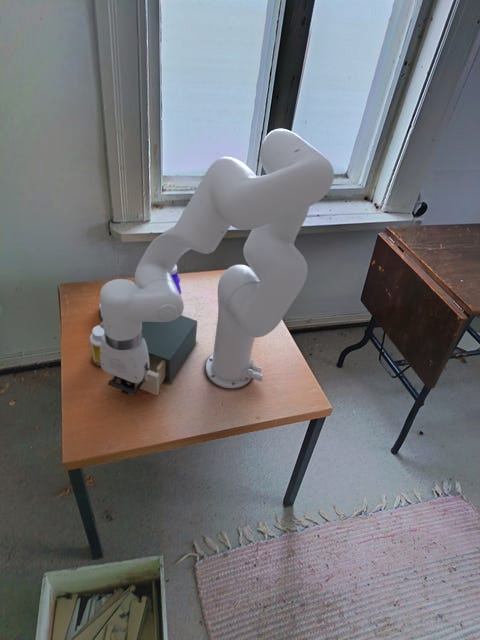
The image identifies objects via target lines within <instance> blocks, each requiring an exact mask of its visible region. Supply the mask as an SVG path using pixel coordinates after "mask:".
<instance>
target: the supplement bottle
mask: <svg viewBox="0 0 480 640" xmlns="http://www.w3.org/2000/svg"><path fill="white" fill-rule="evenodd" d="M103 334H104V329H103V328H101V327H100V324H99V325H96V326H94V327H93V328H92V329H91V334H90V336H89V344H90V350H91V356H92V359H93V362H94V364H96V365H97V366H99V367H101V363H100V345H101V339H102V336H103Z"/></svg>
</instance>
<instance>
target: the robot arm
mask: <svg viewBox="0 0 480 640" xmlns="http://www.w3.org/2000/svg"><path fill="white" fill-rule="evenodd" d="M259 154H260V156H259V157H260V163H261V166H262V168H263V170H264V172H265V175H264V174H263V175H259V176H258V175H256V174H255V172H254V171H252V170H251V169H250V168H249V167H248V166H247V165H246V164H245V163H244V162H243V161H241V160H239V159H237V158H234V157H231V156H223V157H220V158H218V159H216V160H214V161H213V163H211V164H210V165H209V167H208V168H207V170H206V172H205V174H204V175H203V177H202V179H201V181H200V182H199V184H198V186H197V187H196V189H195V191H194V193H193V195H192V196H191V198H190V199H189V202H187V205H186V207H185V208H184V210H183V212H182V213H181V215H180V217H179V219H178V221H177V222H176V224H175V225H174V226H172V227H170V228H169V229H167V230H165V231H163V232H162V233H161V234H160V235H158V236H157V237H156V238H154V239H153V240H152V241H151V242H150V244H149V245H148V246H147V248H146V250H145V251H144V252H143V255H142V257H141V259H140V261H139V262H138V264H137V267H136V270H135V273H134V281H132V280H130V279H125V278H116V279H112V280H109V281H108V282H106V283H104V284H103V285H102V286H101V289H100V292H99V301H100V302H101V309H102V317H103V319H102V321H101V322H100V323H99V325H100V327H101V328H103V329H104V334H103V336H102V339H101V345H100V363H101V366H100V368H101V369H102V370H103V371H104V372H106V373H108V374H109V375H110V374H112V375H115V376H116V377H117V379H118V380H117V379H116V380H117V381H119V384H122V385H124V386H127V387H129V388H132V389H135V388H136V387H135V383H140V382H146V381H147V380H148V379H149V377H148V374H147V371H149V366H150V363H149V354H148V349H147V345H146V342H145V339H144V338H142V322H169V321H173V320H175V319H177V318H178V317H179V316H180V315H182V314H183V312H184V309H185V308H184V307H185V305H184V300H183V298H182V295H180V293H179V291H178V289H177V287H176V285H175V283H174V281H173V278H172V276H171V272H172V270H173V268H174V266H175V265H177V263H178V262H179V260H180V258H182V256H183V255H185V253H187V252H189V251H191V250H192V251H194V252H197V253H200V254H205V255H206V254H207V255H208V254H212V253H213V252H215V251H216V250H217V248H218V246H219V245H220V243H221V242H222V241H223V238H224V237H225V235H226V233H227V232H228V230H229V229H230V228H231V227H232V228H234V229H236V230H239V231H250V233H249V235H248V237H247V239H246V241H245V242H244V246H243V249H242V250H243V251H242V252H243V257H244V259H245V262H246V263H247V264H248V265H245V264H234V265H232V266H230V267H228V268H227V269H226V270H225V271H223V273H222V275H221V276H220V277H219V281H218V284H217V320H216V321H217V322H216V330H215V337H214V338H215V339H214V345H213V353H212V354H210V356H209V357H208V358H207V359H206V362H205V372H206V375H207V377H208V379H209V380H210V381H211V382H212V383H214V384H215V385H217V386H219V387H221V388H225V389H238V388H241V387H244V386H245V385H247V384H248V383H249V382H250V381H251V379H253V380H256V381H258V382H260V383H262V382H263V380H264V377H265V374H262V373H261V372H262V371H263V367H262V366H259V365H256V364H255V363H253V361H254V357H252V352H253V348H254V342H255V338H262V337H265V336H267V335H269V334H270V333H272V331H274V330H275V329H276V328H277V326H279V324H280V323H281V322H282V320H283V319H284V317H285V315H286V314H287V313H288V311H289V309H290V308H291V306H292V305H293V303H294V301H295V300H296V299H297V297H298V296H299V294H300V292H301V290H303V288H304V285H305V283H306V281H307V277H308V272H309V271H308V268H309V267H308V262H307V260H306V259H305V257H304V255H303V254H302V253H301V251H299V250H298V248H297V247H296V246H295V241H296V239H297V236H298V235H299V232H300V231H301V228H302V227H303V225H304V223H305V221H306V219H307V216H308V213H309V210H310V207H311V206H313V205H315V204H317V203H319V202H320V201H321V200H322V199H323V198H324V197H325V196H326V195H327V194H328V193H329V191H330V190H331V189H332V186H333V184H334V179H335V173H334V168H333V165H332V163H331V162H330V160H329V159H328V157H326V156H325V155H324V154H323V153H321V152H320V150H317V149H316V148H315V147H314V146H312V145H311V144H310V143H308V142H307V141H306V140H305V139H304V138H302V137H301V136H300V135H298V134H297V133H294V132H293V131H291V130H288V129H285V128H276V129H273V130H271V131H270V132H269V133H268V134H267V135H266V136H265V137H264V139H263V141H262V143H261V147H260V152H259ZM102 317H101V318H102ZM120 393H122V394H125V395H129V394H130V393H127V392H125V391H122V390H120Z"/></svg>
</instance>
